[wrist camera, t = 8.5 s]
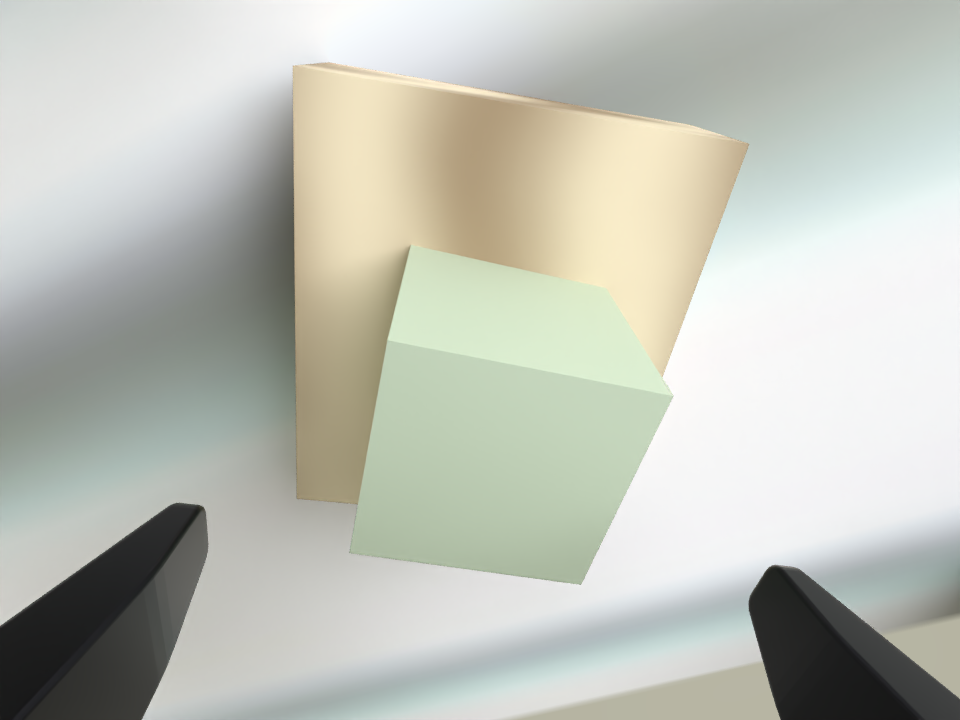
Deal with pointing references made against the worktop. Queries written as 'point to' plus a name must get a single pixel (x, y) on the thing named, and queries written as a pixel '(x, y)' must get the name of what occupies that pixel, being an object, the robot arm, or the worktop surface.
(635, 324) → the birch block
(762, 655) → the robot arm
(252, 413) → the worktop surface
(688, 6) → the worktop surface
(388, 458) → the sage cube
